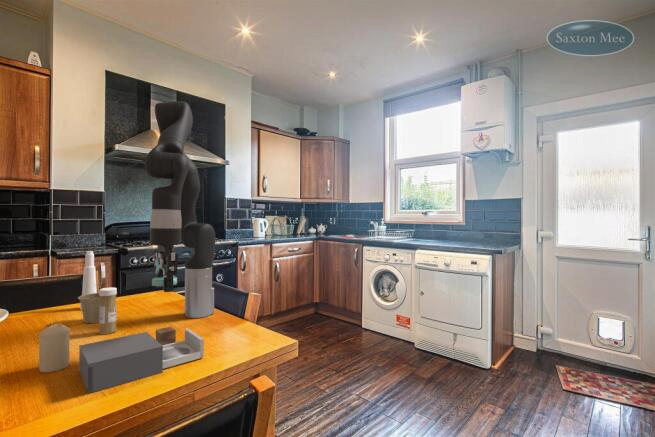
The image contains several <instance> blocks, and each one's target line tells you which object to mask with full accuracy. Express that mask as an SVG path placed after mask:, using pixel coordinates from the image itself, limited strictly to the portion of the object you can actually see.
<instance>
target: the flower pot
mask: <svg viewBox="0 0 655 437" xmlns="http://www.w3.org/2000/svg"><path fill="white" fill-rule="evenodd" d="M77 299H78V300H79V303H80V305H81V306H82V310H81V311H82V316H83V322H84V323H85V324H96V323H100V322H99V306H100V296H99V292H97V293H92V294H86V295H82V294H81V295H80V296H77Z"/></svg>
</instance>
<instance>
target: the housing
mask: <svg viewBox="0 0 655 437" xmlns="http://www.w3.org/2000/svg"><path fill="white" fill-rule="evenodd" d="M78 350H79V353H78V354H79V356H78V357H79V359H78V360H79V362H78V365H79V366H78V367H79V370H78V371H79V374H80V377H81V379H82V382H83V386H84V388H85V389H86V392H87V394H93V393H96V392H101V391H103V390H106V389H110V388H114V387H117V386H120V385H124V384H127V383H131V382H134V381H137V380H138V381H139V380H140V379H145V378H148V377H152V376H155V375H158V374H161V373H162V374H163V373H164V372H163V371H164V369H163V346H162V345H161V344H160V343H159V342H158V341H156V338H154V336H152V335H151V334H150V333H149V332H148V331H143V332H139V333H134V334H130V335H125V336H124V335H123V336H120V337H113V338H109V339H105V340H100V341H95V342H90V343H84V344H81V345H80V344H79V349H78Z"/></svg>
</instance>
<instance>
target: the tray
mask: <svg viewBox="0 0 655 437" xmlns="http://www.w3.org/2000/svg"><path fill="white" fill-rule="evenodd" d="M204 341H205V340H204V338H203V337H201V336H200V335H198V334H197V333H195V332H194V331H192V330H190V329H189V328H185V329H184V340H180V341H176V342H175V343H171V344H167V345H163V370H164V369H166V368H167V369H168V368H171V367H174V366H177V365H182V364H184V363H188V362H191V361H195V360H199V359H202V358H204V356H205V355H204V352H205V351H204V350H205V349H204V345H205V342H204Z"/></svg>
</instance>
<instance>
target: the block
mask: <svg viewBox="0 0 655 437" xmlns="http://www.w3.org/2000/svg"><path fill="white" fill-rule="evenodd" d="M176 331H177V330H176V329H175V328H174V327H173V326H168V327H167V326H166V327H163V328H158V329H155V340H156V341H158V342H159V343H160V344H161V345H162V346H163V345H167V344H171V343H175V342H177V341H176V333H177V332H176Z"/></svg>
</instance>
